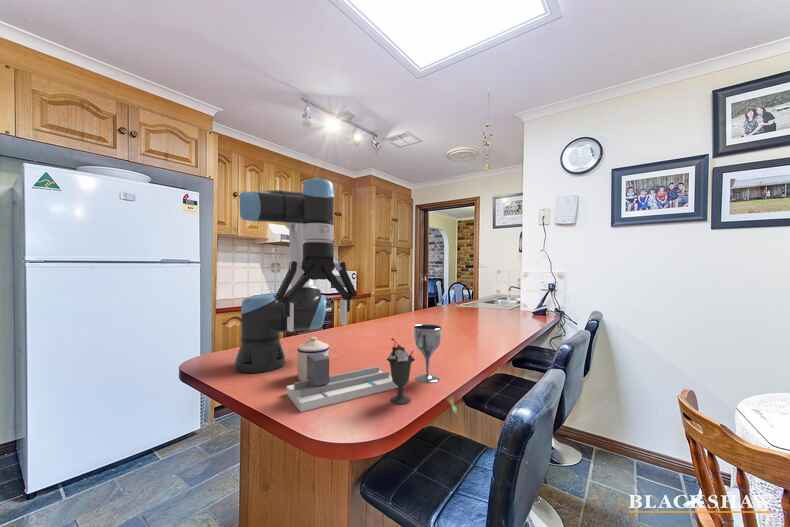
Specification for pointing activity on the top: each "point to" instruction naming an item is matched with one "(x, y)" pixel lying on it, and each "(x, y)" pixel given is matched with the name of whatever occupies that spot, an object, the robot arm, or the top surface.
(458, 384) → the top surface
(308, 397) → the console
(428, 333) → the wine glass
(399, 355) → the sundae
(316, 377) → the fader tab
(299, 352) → the teacup with lid
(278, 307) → the robot arm
